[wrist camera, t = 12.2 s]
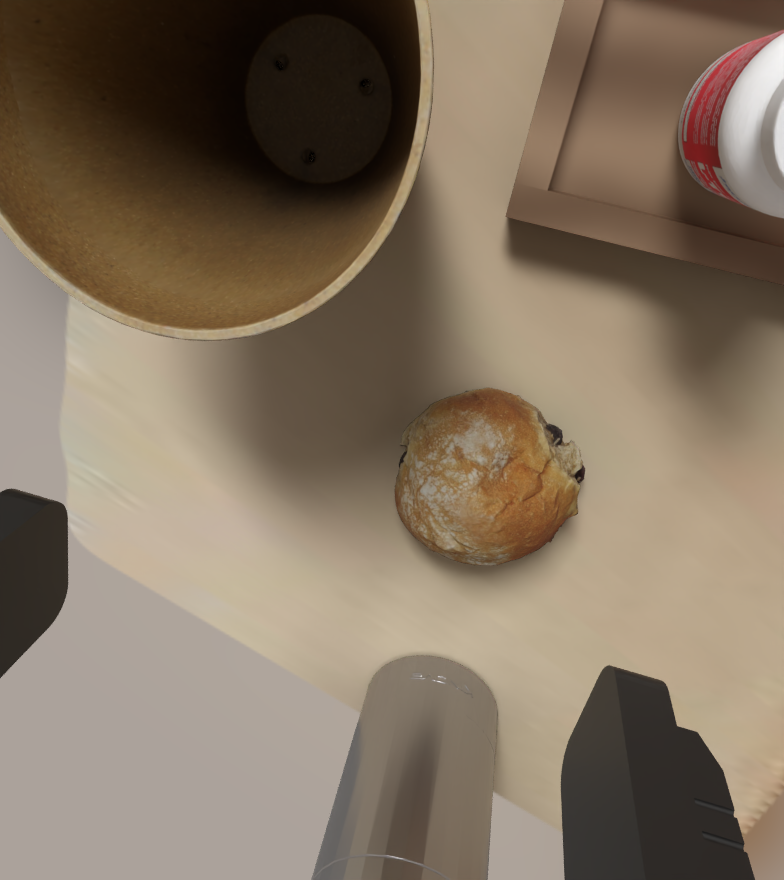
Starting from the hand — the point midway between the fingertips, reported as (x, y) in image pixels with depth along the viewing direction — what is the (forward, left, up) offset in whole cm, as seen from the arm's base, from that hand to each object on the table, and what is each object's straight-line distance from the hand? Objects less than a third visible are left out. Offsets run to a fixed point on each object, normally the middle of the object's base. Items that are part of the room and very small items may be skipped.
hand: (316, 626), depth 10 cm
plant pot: (+6, +9, -28) cm, 30 cm away
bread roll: (-11, -4, -28) cm, 31 cm away
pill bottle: (+9, -10, -27) cm, 30 cm away
